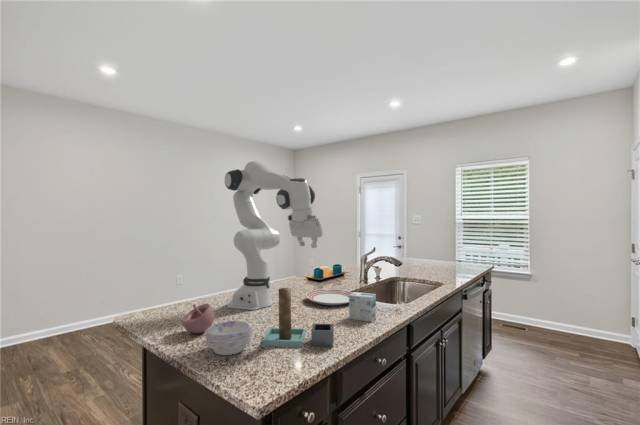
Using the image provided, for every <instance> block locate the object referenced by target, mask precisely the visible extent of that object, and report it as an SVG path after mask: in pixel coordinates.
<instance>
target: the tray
mask: <svg viewBox="0 0 640 425" xmlns="http://www.w3.org/2000/svg"><path fill="white" fill-rule="evenodd" d="M306 335H307V328H304V327H303V328H298V327H297V328H295V327H293V328H292V327H291V339H290V340H279V327H270V328H269V329H268V331H267V332H266V334H265V335H264V337H263V339H262V342H261V343H262V344H261V345H262V347H264V348H266V347H284V348H285V347H290V348H294V347H295V348H302V347H303V345H304V342H305V339H306Z"/></svg>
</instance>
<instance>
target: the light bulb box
mask: <svg viewBox="0 0 640 425" xmlns="http://www.w3.org/2000/svg"><path fill="white" fill-rule="evenodd" d="M376 294H377V293H368V292H367V293H366V292H358V291H353V292H352V293H351V294H350V295H349V303H348V312H349V313H348V318H349V320H355V321H364V322H371V323H372V322H373V321H374V320H375V319H377V297H376Z"/></svg>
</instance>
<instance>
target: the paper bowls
mask: <svg viewBox="0 0 640 425" xmlns="http://www.w3.org/2000/svg"><path fill="white" fill-rule="evenodd" d="M205 336H206V337H205V338H206V339H205V341H206V342H205V343H206V344H205V345H206V347H208V348H210V349H212V351H213V352H214V354H217V355H219V356H232V354H233V355H236V354H239V353H241V352H243V351H244V350H245V348H246V346H247V345H249V343H251V342H252V339H253V326H252V323H250V322H248V321H245V320H227V321H221V322H218V323H213V324H212V325H211V326H210V327H209V328H208V329H207V330H206V331H205Z"/></svg>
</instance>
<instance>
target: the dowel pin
mask: <svg viewBox="0 0 640 425" xmlns="http://www.w3.org/2000/svg"><path fill="white" fill-rule="evenodd" d="M278 328H279V340H290V339H291V328H292V288H291V287H281V288H278Z"/></svg>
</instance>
